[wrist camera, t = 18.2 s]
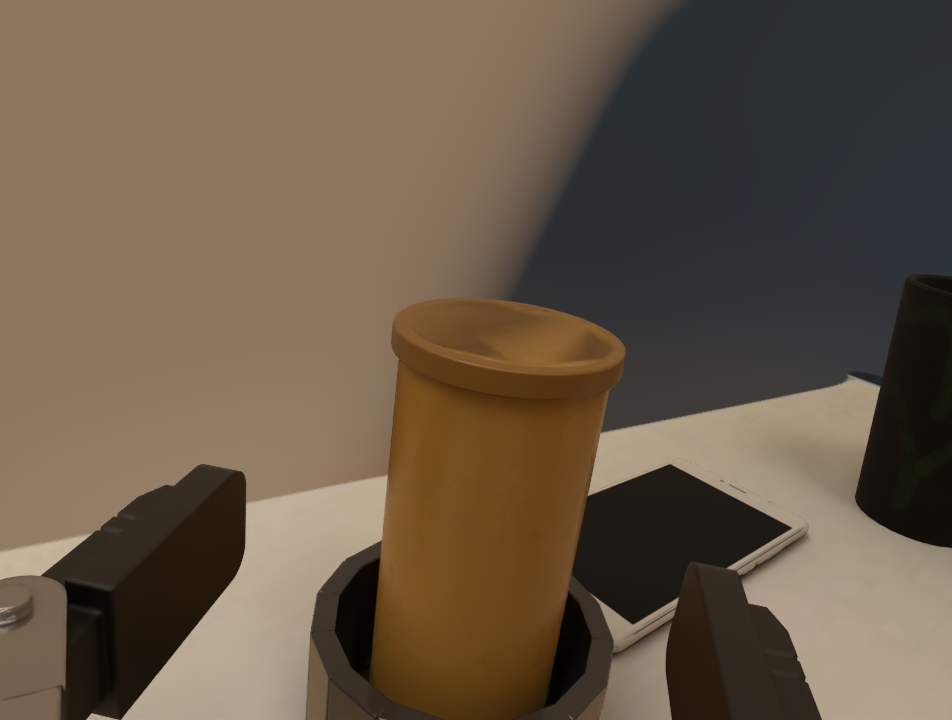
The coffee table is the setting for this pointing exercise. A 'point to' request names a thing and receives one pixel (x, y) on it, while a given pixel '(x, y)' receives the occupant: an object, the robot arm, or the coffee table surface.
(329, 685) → the pod chamber
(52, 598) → the robot arm
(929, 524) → the cup
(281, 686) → the coffee table surface
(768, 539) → the smartphone
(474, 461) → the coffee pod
